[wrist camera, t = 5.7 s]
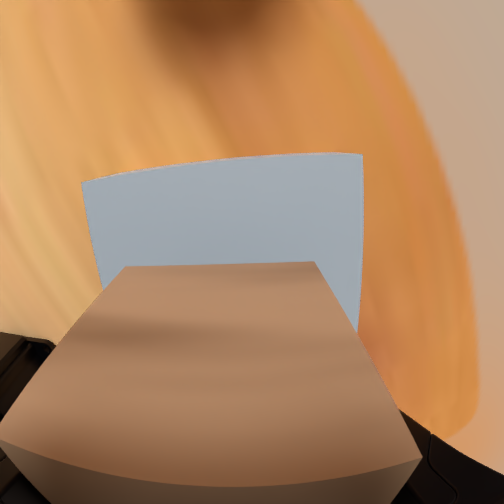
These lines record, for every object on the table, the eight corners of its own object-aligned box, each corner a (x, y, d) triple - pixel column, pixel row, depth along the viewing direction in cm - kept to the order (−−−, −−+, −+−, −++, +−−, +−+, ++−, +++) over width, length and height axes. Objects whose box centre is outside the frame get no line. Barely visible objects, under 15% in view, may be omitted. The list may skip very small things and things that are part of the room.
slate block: (331, 337, 17) (350, 383, 13) (156, 349, 17) (139, 396, 13) (331, 152, 14) (362, 154, 10) (120, 172, 14) (81, 182, 10)
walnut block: (302, 400, 10) (336, 562, 4) (156, 401, 10) (116, 556, 4) (314, 261, 8) (422, 456, 2) (125, 266, 8) (-9, 435, 2)
